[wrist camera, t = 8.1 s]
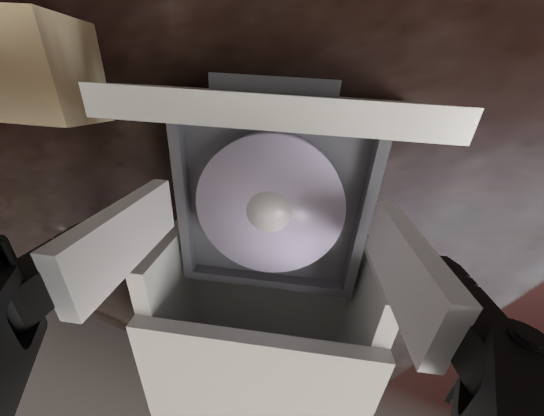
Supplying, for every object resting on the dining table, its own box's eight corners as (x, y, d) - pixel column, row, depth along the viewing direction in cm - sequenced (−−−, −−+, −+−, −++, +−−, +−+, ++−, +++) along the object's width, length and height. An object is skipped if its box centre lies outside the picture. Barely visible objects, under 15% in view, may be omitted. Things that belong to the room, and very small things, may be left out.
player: (178, 217, 18) (113, 283, 12) (373, 237, 17) (414, 321, 11) (191, 329, 23) (151, 417, 17) (342, 350, 22) (357, 451, 16)
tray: (161, 73, 14) (73, 62, 9) (413, 88, 13) (492, 87, 8) (182, 253, 19) (136, 316, 14) (362, 274, 18) (387, 350, 13)
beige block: (10, 19, 14) (-76, -1, 11) (94, 23, 14) (31, 3, 10) (41, 114, 16) (-23, 120, 13) (114, 120, 16) (66, 128, 13)
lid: (209, 249, 17) (200, 264, 15) (201, 124, 13) (189, 128, 12) (329, 262, 16) (332, 280, 15) (354, 136, 13) (361, 142, 11)
